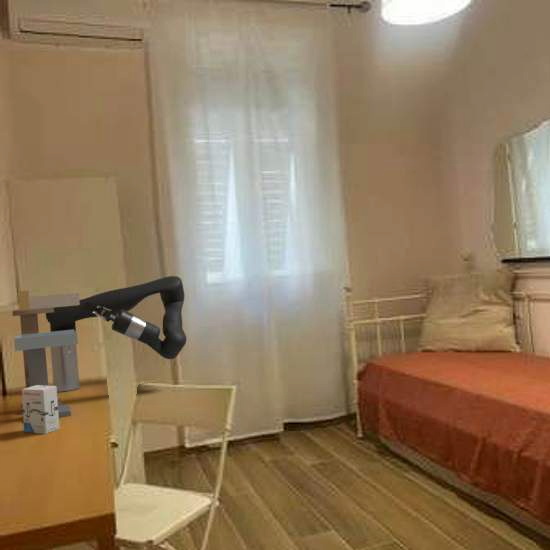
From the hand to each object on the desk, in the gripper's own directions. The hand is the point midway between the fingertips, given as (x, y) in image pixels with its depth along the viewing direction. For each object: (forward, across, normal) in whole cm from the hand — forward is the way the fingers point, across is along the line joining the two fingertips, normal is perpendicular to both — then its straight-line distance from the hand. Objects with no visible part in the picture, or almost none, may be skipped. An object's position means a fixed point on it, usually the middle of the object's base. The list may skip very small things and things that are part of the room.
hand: (84, 304), depth 194 cm
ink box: (-3, -32, -36) cm, 48 cm away
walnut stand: (-3, +1, -36) cm, 36 cm away
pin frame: (-6, -12, -34) cm, 37 cm away
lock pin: (+9, +1, -6) cm, 10 cm away
